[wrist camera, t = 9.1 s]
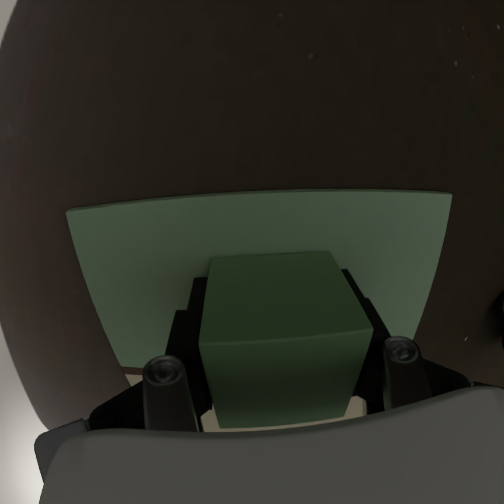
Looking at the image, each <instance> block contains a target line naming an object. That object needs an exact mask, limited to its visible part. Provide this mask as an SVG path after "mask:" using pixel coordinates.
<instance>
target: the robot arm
mask: <svg viewBox="0 0 504 504" xmlns="http://www.w3.org/2000/svg"><path fill="white" fill-rule="evenodd" d="M340 270H341V271H342V273H343V275H344V276H345V278H346V280H347V282H348V283H349V285H350V287H351V289H352V290H353V292H354V294H355V296H356V298H357V299H358V301H359V303H360V305H361V306H362V308H363V310H364V312H365V314H366V316H367V317H368V319H369V321H370V323H371V325H372V327H373V334H372V337H371V341H370V344H369V347H368V350H367V354H366V357H365V360H364V363H363V366H362V369H361V372H360V375H359V378H358V381H357V383H356V386H355V389H354V392H353V394H352V397H354V396H358V397H360V398H362V399H363V400H362V406H363V416H361V417H356V418H351V419H346V420H341V421H335V422H329V423H323V424H316V425H309V426H302V427H293V428H284V429H273V430H260V431H241V432H205V431H204V427H203V423H202V418H201V416H202V415H204V414H205V413H206V412H208V410H212V404H213V403H212V399H211V395H210V391H209V387H208V383H207V379H206V375H205V371H204V367H203V363H202V358H201V354H200V350H199V345H198V343H199V335H200V328H201V321H202V314H203V307H204V300H205V293H206V287H207V280H208V277H198V278H194V280H193V285H192V289H191V293H190V298H189V302H188V307H187V310H176V312H175V315H174V319H173V322H172V326H171V330H170V334H169V338H168V342H167V346H166V350H165V354H164V355H160V356H157V357H154V358H153V359H151V360H149V361H148V362H147V363H146V364H145V366H144V368H143V372H142V381H140V382H138V383H137V384H135V385H133V386H132V387H130V388H128V389H127V390H125V391H123V392H122V393H120V394H118V395H117V396H115V397H113V398H112V399H110V400H108V401H107V402H105V403H103V404H101V405H100V406H98V407H97V408H96V409H94V410H93V412H92V413H91V414H90V417H89V419H87V420H84V419H83V418H81V419H79V420H76V421H74V422H71V423H68V424H66V425H63V426H61V427H58V428H55V429H53V430H50V431H47V432H44V433H42V434H41V435H39V436H38V438H37V439H36V441H35V444H34V450H35V454H36V459H37V462H38V466H39V469H40V473H41V476H42V479H43V483H44V486H43V489H42V493H41V496H40V501H39V504H504V388H502V387H497V386H492V385H488V384H484V383H479V382H475V381H472V383H471V384H470V382H469V381H468V379H467V378H466V377H465V376H464V375H462V374H460V373H459V372H456V371H453V370H451V369H448V368H446V367H443V366H441V365H438V364H436V363H433V362H431V361H428V360H426V359H423V358H422V356H421V352H420V349H419V347H418V345H417V344H416V343H415V342H414V341H413V340H411V339H410V338H407V337H404V336H391V335H390V333H389V331H388V329H387V328H386V326H385V324H384V322H383V321H382V319H381V317H380V316H379V314H378V312H377V311H376V309H375V307H374V306H373V304H372V302H371V301H370V299H369V298H367V297H364V295H363V294H362V292H361V290H360V289H359V287H358V285H357V284H356V282H355V280H354V279H353V277H352V275H351V274H350V272H349V271H348V269H340Z"/></svg>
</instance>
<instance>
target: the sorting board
mask: <svg viewBox="0 0 504 504" xmlns="http://www.w3.org/2000/svg"><path fill="white" fill-rule="evenodd" d="M451 199H452V194H450V193H448V192H439V191H420V190H393V189H292V190H263V191H242V192H225V193H210V194H197V195H184V196H173V197H162V198H152V199H143V200H134V201H125V202H117V203H109V204H101V205H94V206H86V207H79V208H73V209H69V210H68V211H66V216H67V221H68V224H69V228H70V232H71V236H72V239H73V243H74V247H75V250H76V253H77V257H78V260H79V263H80V266H81V269H82V272H83V275H84V278H85V281H86V284H87V287H88V290H89V293H90V295H91V298H92V301H93V303H94V306H95V308H96V311H97V314H98V316H99V319H100V321H101V323H102V326H103V328H104V331H105V333H106V335H107V337H108V340H109V342H110V344H111V346H112V349H113V351H114V353H115V355H116V357H117V359H118V361H119V363H120V365H121V369H122V371H123V373H124V374H125V375H126V377H127V379H128V381H129V383H130V385H131V387H132V386H133V385H135V384H137V383H138V382H140V381H142V372H143V368H144V366H145V364H146V363H147V362H148V361H149V360H151V359H153V358H154V357H157V356H160V355H164V354H165V350H166V346H167V342H168V338H169V334H170V330H171V326H172V322H173V319H174V315H175V312H176V310H187V307H188V302H189V298H190V293H191V289H192V285H193V280H194V278H198V277H208V274H209V267H210V261H211V258H220V257H238V256H256V255H274V254H292V253H309V252H327V251H329V252H330V253H331V254H332V256H333V258H334V259H335V261H336V263H337V264H338V266H339V268H340V269H348V271H349V272H350V274H351V275H352V277H353V279H354V280H355V282H356V284H357V285H358V287H359V289H360V290H361V292H362V294H363V295H364V297H367V298H369V299H370V301H371V302H372V304H373V306H374V307H375V309H376V311H377V312H378V314H379V316H380V317H381V319H382V321H383V322H384V324H385V326H386V328H387V329H388V331H389V333H390V335H391V336H404V337H407V338H410V339H411V340H413V337H414V334H415V332H416V329H417V327H418V324H419V321H420V318H421V316H422V313H423V310H424V307H425V304H426V301H427V298H428V295H429V292H430V289H431V285H432V282H433V279H434V275H435V272H436V268H437V264H438V261H439V257H440V253H441V249H442V245H443V240H444V236H445V231H446V226H447V222H448V216H449V211H450V205H451ZM362 400H363V399H362V398H360V397H358V396H354V397H351V400H350V402H349V405H348V407H347V410H346V412H345V415H344V416H343V417H340V418H334V419H328V420H322V421H315V422H308V423H300V424H292V425H282V426H270V427H256V428H232V429H221V428H219V425H218V421H217V417H216V414H215V410H214V406H213V404H212V410H208V412H206V413H205V414H204V415H202V416H201V418H202V423H203V427H204V431H205V432H241V431H260V430H273V429H284V428H293V427H302V426H309V425H316V424H323V423H329V422H335V421H341V420H346V419H351V418H356V417H361V416H363V406H362Z"/></svg>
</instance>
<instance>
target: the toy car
mask: <svg viewBox="0 0 504 504" xmlns="http://www.w3.org/2000/svg"><path fill="white" fill-rule="evenodd" d="M496 313H497V318H498V321H499V323H500V324H501V326H502V327H503V328H504V293H503V294H502V295H501V297H500V298H499V300H498V303H497V308H496ZM502 346H503V349H504V333H503V336H502Z"/></svg>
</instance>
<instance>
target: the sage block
mask: <svg viewBox="0 0 504 504" xmlns="http://www.w3.org/2000/svg"><path fill="white" fill-rule="evenodd" d="M372 334H373V327H372V325H371V323H370V321H369V319H368V317H367V316H366V314H365V312H364V310H363V308H362V306H361V305H360V303H359V301H358V299H357V298H356V296H355V294H354V292H353V290H352V289H351V287H350V285H349V283H348V282H347V280H346V278H345V276H344V275H343V273H342V271H341V270H340V268H339V266H338V264H337V263H336V261H335V259H334V258H333V256H332V254H331V253H330V252H329V251H327V252H309V253H292V254H274V255H256V256H238V257H220V258H211V261H210V267H209V274H208V280H207V287H206V293H205V300H204V307H203V314H202V321H201V328H200V335H199V343H198V345H199V350H200V354H201V358H202V363H203V367H204V371H205V375H206V379H207V383H208V387H209V391H210V395H211V399H212V403H213V406H214V410H215V414H216V417H217V421H218V425H219V428H221V429H232V428H256V427H270V426H282V425H292V424H300V423H308V422H315V421H322V420H328V419H334V418H340V417H343V416H344V415H345V412H346V410H347V407H348V405H349V402H350V400H351V397H352V394H353V392H354V389H355V386H356V383H357V381H358V378H359V375H360V372H361V369H362V366H363V363H364V360H365V357H366V354H367V350H368V347H369V344H370V341H371V337H372Z"/></svg>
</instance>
